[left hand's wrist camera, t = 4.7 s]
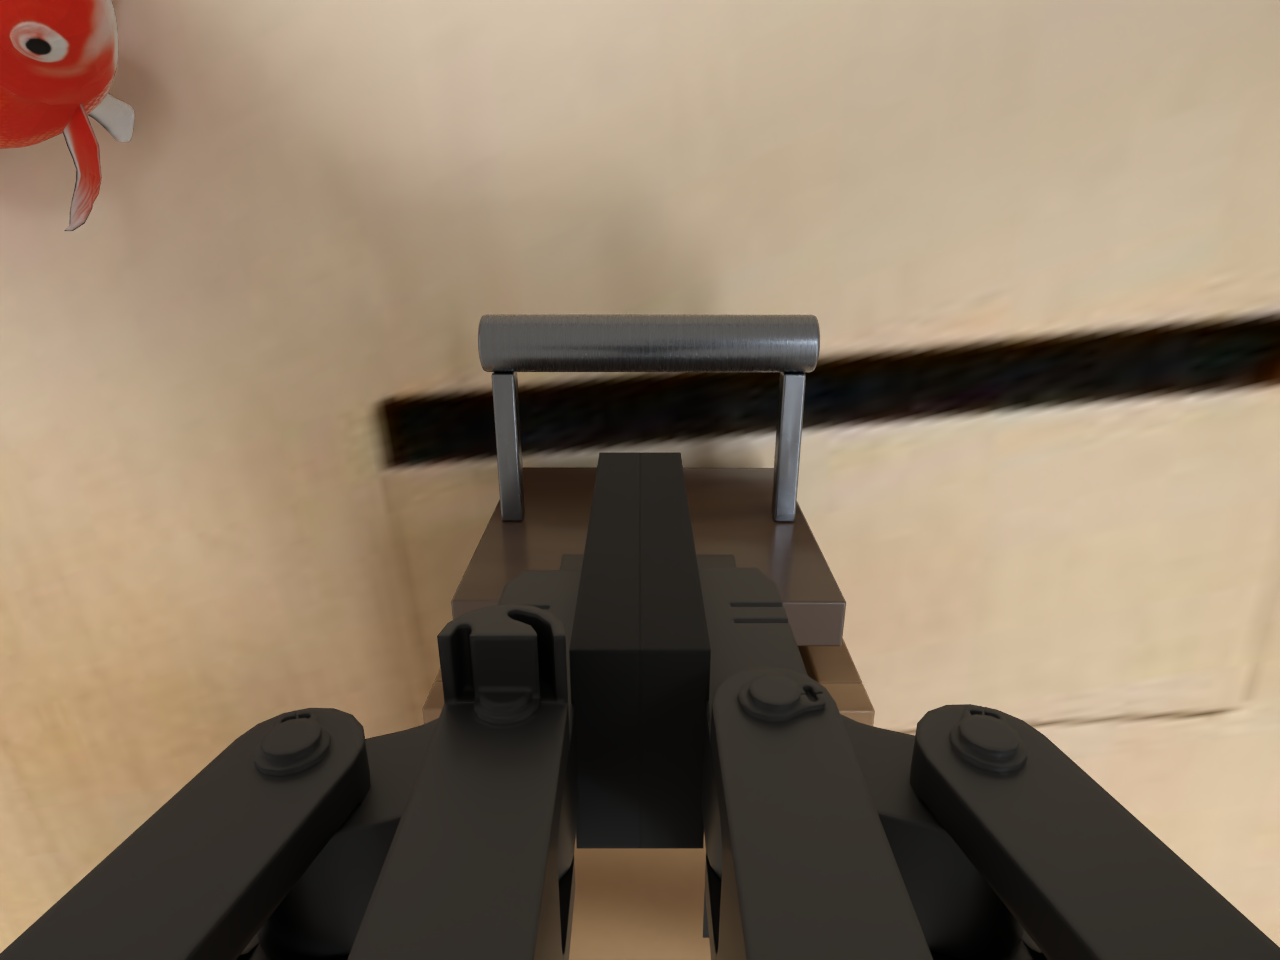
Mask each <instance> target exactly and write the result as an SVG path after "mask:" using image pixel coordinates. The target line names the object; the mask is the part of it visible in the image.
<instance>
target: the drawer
mask: <svg viewBox="0 0 1280 960" xmlns="http://www.w3.org/2000/svg"><path fill="white" fill-rule="evenodd" d="M819 348H820V331H819V324H818V320H817V318H816V316H814V315H484V316H482V317H481V320H480V324H479V330H478V349H479V357H480V362H481V365H482V368H483V370H484V371H487V372H493V374H492V389H493V403H494V418H495V432H496V446H497V461H498V475H499V490H500V500H499V502H498V504H497V506H496V509H495V511H494V513H493V515H492V517H491V519H490V521H489V523H488V525H487V528H486V530H485V532H484V534H483V536H482V538H481V540H480V542H479V544H478V547H477V549H476V551H475V553H474V555H473V557H472V559H471V561H470V563H469V565H468V568H467V570H466V572H465V574H464V576H463V578H462V580H461V582H460V584H459V587H458V589H457V591H456V593H455V595H454V597H453V599H452V612H453V620H454V619H456V618H458V617H459V616H461V615H463V614H465V613H467V612H470V611H473V610H477V609H480V608H483V607H487V606H495V605H498V603H499V600H500V597H501V594H502V591H503V588H504V586H505V585H506V584H508V583H509V582H510V581H511V580H512V579H513V578H515V577H516V576H517V575H518V574H519V573H521V572H522V571H523V570H582V564H583V558H584V551H585V545H586V538H587V532H588V525H589V519H590V512H591V506H592V499H593V493H594V486H595V480H596V473H597V468H522V451H521V433H520V416H519V399H518V381H517V372H780V385H779V400H778V416H777V431H776V446H775V462H774V468H683V473H684V480H685V486H686V493H687V499H688V506H689V512H690V519H691V525H692V532H693V538H694V545H695V551H696V558H697V564H698V568H758V569H759V570H760V571H761V572H763V573H764V574H765V575H766V576H767V577H768V578H770V579H771V580H772V581H773V582H774V583H776V585H777V588H778V591H779V594H780V597H781V600H782V603H783V607H784V608H785V611H786V614H787V617H788V623H790V626H791V628H792V631H793V634H794V637H795V640H796V643H797V646H841V644H842V636H843V627H844V618H845V608H846V602H845V599H844V597H843V595H842V593H841V591H840V589H839V587H838V585H837V583H836V581H835V579H834V577H833V575H832V573H831V571H830V569H829V566H828V564H827V562H826V560H825V558H824V556H823V554H822V552H821V550H820V548H819V546H818V544H817V542H816V540H815V538H814V536H813V533H812V531H811V529H810V527H809V525H808V523H807V521H806V519H805V517H804V515H803V513H802V511H801V509H800V507H799V505H798V503H797V500H796V499H797V486H798V473H799V460H800V447H801V434H802V421H803V408H804V395H805V382H806V375H805V373H804V372H812V371H814V369H815V367H816V365H817V361H818V356H819Z"/></svg>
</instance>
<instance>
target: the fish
mask: <svg viewBox="0 0 1280 960" xmlns="http://www.w3.org/2000/svg"><path fill="white" fill-rule="evenodd" d="M117 60H118V30H117V23H116V15H115V11H114V8H113V4H112V1H111V0H0V148H18V147H25V146H30V145H34V144H37V143H40V142H42V141H45V140H47V139H49V138H52V137H54V136H56V135H59V134H61V133H63V134H64V137H65V140H66V143H67V146H68V148H69V151H70V153H71V155H72V158H73V161H74V164H75V167H76V184H75V190H74V194H73V198H72V203H71V209H70V225H69V227H68V228H67V229H66V230H65V231H73V230H75V229H76V228H78V227H79V226H81V225H83V224H84V223H85V222H86V220H87V218H88V216H89V214H90V212H91V210H92V206H93V203H94V201H95V199H96V197H97V196H98V194H99V189H100V184H101V168H100V155H99V145H98V142H97V140H96V137H95V135H94V132H93V129H92V127H91V124H90V122H89V119H88V117H87V115H89V116H91V117H92V118H94V119H95V120H96V121H98V122H99V123H100V124H101V125H102V126H103V127H104V128H105V129H106V130H107V131H108V132H109V133H110V134H111V135H112V136H113V137H114V138H115V139H116V140H117V141H120V142H129V141H130V140H131V138H132V134H133V127H134V117H135V114H134V110H133V108H132V107H131V106H130V105H129V104H127V103H125V102H123V101H121V100H119V99H117V98H114V97H113V96H112V95H110V94H109V93H108V92H109V90H110V87H111V84H112V81H113V78H114V75H115V71H116V68H117Z"/></svg>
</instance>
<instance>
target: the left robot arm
mask: <svg viewBox="0 0 1280 960" xmlns="http://www.w3.org/2000/svg"><path fill="white" fill-rule="evenodd" d="M437 638H438V647H439V656H440V666H441V675H442V684H443V694H444V706H443V708H442V711H441V714H440V716H439V718H437V719H435V720H433V721H430V722H428V723H426V724H424V725H422V726H418V727H415V728H411V729H408V730H404V731H400V732H396V733H391V734H386V735H382V736H377V737H373V738H368V739H365V736H364V729H363V726H362V725H361V724H360V723H359V722H358V721H357V719H356V718H355V717H354V716H353V715H351V714H348V713H345V712H342V711H340V710H337V709H332V708H307V709H302V710H297V711H292V712H288V713H283V714H281V715H278V716H276V717H274V718H271V719H269V720H266V721H264V722H262V723H259V724H257V725H256V726H254V727H253V728H252V729H250V730H249V731H247V732H246V733H244V734H243V735H242V736H240V737H239V738H237V739H236V740H235V741H234V742H233V743H232V744H230V745H229V746H228V747H227V748H226V749H225V750H224V751H223V752H222V753H221V754H219V755H218V756H217V757H216V758H215V759H214V760H213V761H212V762H211V763H210V764H208V765H207V766H206V767H205V768H204V769H203V770H202V771H201V772H200V773H199V774H197V775H196V776H195V777H194V778H193V779H192V780H191V781H190V782H189V783H188V784H186V785H185V786H184V787H183V788H182V789H181V790H180V791H179V792H178V793H177V794H175V795H174V796H173V797H172V798H171V799H170V800H169V801H168V802H167V803H166V804H164V805H163V806H162V807H161V808H160V809H159V810H158V811H157V812H156V813H155V814H153V815H152V816H151V817H150V818H149V819H148V820H147V821H146V822H145V823H144V824H142V825H141V826H140V827H139V828H138V829H137V830H136V831H135V832H134V833H133V834H131V835H130V836H129V837H128V838H127V839H126V840H125V841H124V842H123V843H122V844H120V845H119V846H118V847H117V848H116V849H115V850H114V851H113V852H112V853H111V854H109V855H108V856H107V857H106V858H105V859H104V860H103V861H102V862H101V863H100V864H99V865H97V866H96V867H95V868H94V869H93V870H92V871H91V872H90V873H89V874H88V875H86V876H85V877H84V878H83V879H82V880H81V881H80V882H79V883H78V884H77V885H75V886H74V887H73V888H72V889H71V890H70V891H69V892H68V893H67V894H66V895H64V896H63V897H62V898H61V899H60V900H59V901H58V902H57V903H56V904H55V905H53V906H52V907H51V908H50V909H49V910H48V911H47V912H46V913H45V914H44V915H42V916H41V917H40V918H39V919H38V920H37V921H36V922H35V923H34V924H33V925H31V926H30V927H29V928H28V929H27V930H26V931H25V932H24V933H23V934H22V935H20V936H19V937H18V938H17V939H16V940H15V941H14V942H13V943H12V944H11V945H9V946H8V947H7V948H6V949H5V950H4V951H3V952H2V953H1V954H0V960H569V954H570V943H571V932H572V921H573V909H574V898H575V865H574V849H575V839H576V845H577V848H703V845H704V835H705V845H706V865H705V890H704V915H703V938H709V942H710V953H711V960H1280V948H1279V947H1278V946H1277V945H1276V944H1275V943H1274V942H1273V941H1272V940H1271V939H1269V938H1268V937H1267V936H1266V935H1265V934H1264V933H1263V932H1262V931H1261V930H1259V929H1258V928H1257V927H1256V926H1255V925H1254V924H1253V923H1252V922H1251V921H1249V920H1248V919H1247V918H1246V917H1245V916H1244V915H1243V914H1242V913H1241V912H1240V911H1238V910H1237V909H1236V908H1235V907H1234V906H1233V905H1232V904H1231V903H1230V902H1228V901H1227V900H1226V899H1225V898H1224V897H1223V896H1222V895H1221V894H1220V893H1218V892H1217V891H1216V890H1215V889H1214V888H1213V887H1212V886H1211V885H1210V884H1208V883H1207V882H1206V881H1205V880H1204V879H1203V878H1202V877H1201V876H1200V875H1198V874H1197V873H1196V872H1195V871H1194V870H1193V869H1192V868H1191V867H1190V866H1189V865H1187V864H1186V863H1185V862H1184V861H1183V860H1182V859H1181V858H1180V857H1179V856H1177V855H1176V854H1175V853H1174V852H1173V851H1172V850H1171V849H1170V848H1169V847H1167V846H1166V845H1165V844H1164V843H1163V842H1162V841H1161V840H1160V839H1159V838H1157V837H1156V836H1155V835H1154V834H1153V833H1152V832H1151V831H1150V830H1149V829H1147V828H1146V827H1145V826H1144V825H1143V824H1142V823H1141V822H1140V821H1139V820H1138V819H1136V818H1135V817H1134V816H1133V815H1132V814H1131V813H1130V812H1129V811H1128V810H1126V809H1125V808H1124V807H1123V806H1122V805H1121V804H1120V803H1119V802H1118V801H1116V800H1115V799H1114V798H1113V797H1112V796H1111V795H1110V794H1109V793H1108V792H1106V791H1105V790H1104V789H1103V788H1102V787H1101V786H1100V785H1099V784H1098V783H1096V782H1095V781H1094V780H1093V779H1092V778H1091V777H1090V776H1089V775H1088V774H1087V773H1085V772H1084V771H1083V770H1082V769H1081V768H1080V767H1079V766H1078V765H1077V764H1075V763H1074V762H1073V761H1072V760H1071V759H1070V758H1069V757H1068V756H1067V755H1065V754H1064V753H1063V752H1062V751H1061V750H1060V749H1059V748H1058V747H1057V746H1055V745H1054V744H1053V743H1052V742H1051V741H1050V740H1049V739H1048V738H1047V737H1045V736H1044V735H1043V734H1041V733H1040V732H1039V731H1037V730H1036V729H1034V728H1033V727H1031V726H1030V725H1028V724H1027V723H1026V722H1024V721H1023V720H1020V719H1018V718H1016V717H1013V716H1011V715H1008V714H1006V713H1003V712H1001V711H999V710H996V709H991V708H987V707H982V706H976V705H971V704H970V705H945V706H942V707H940V708H937V709H934V710H931V711H928V712H927V713H926V714H925V715H924V717H923V718H922V719H921V720H920V721H919V722H918V723H917V729H916V736H914V735H909V734H904V733H900V732H895V731H890V730H886V729H881V728H877V727H873V726H870V725H866V724H863V723H860V722H857V721H855V720H852V719H850V718H848V717H846V716H844V715H842V714H840V712H839V710H838V707H837V704H836V702H835V701H834V699H833V698H832V696H831V695H830V693H829V692H828V691H827V689H826V688H825V687H824V686H822V685H821V684H819V683H818V682H816V681H815V680H813V679H812V678H810V677H809V676H808V675H807V672H806V669H805V666H804V663H803V660H802V657H801V654H800V651H799V649H798V646H797V643H796V640H795V637H794V634H793V631H792V628H791V626H790V623H788V617H787V614H786V611H785V608H784V607H783V603H782V600H781V597H780V594H779V591H778V588H777V585H776V583H774V582H773V581H772V580H771V579H770V578H768V577H767V576H766V575H765V574H764V573H763V572H761V571H760V570H759V569H758V568H698V564H697V558H696V551H695V545H694V538H693V532H692V525H691V519H690V512H689V506H688V499H687V493H686V486H685V480H684V473H683V467H682V460H681V454H680V453H600V454H599V460H598V467H597V473H596V480H595V486H594V493H593V499H592V506H591V512H590V519H589V525H588V532H587V538H586V545H585V551H584V558H583V564H582V570H523V571H522V572H521V573H519V574H518V575H517V576H516V577H515V578H513V579H512V580H511V581H510V582H509V583H508V584H506V585H505V586H504V588H503V591H502V594H501V597H500V600H499V603H498V605H495V606H487V607H483V608H480V609H477V610H473V611H470V612H467V613H465V614H463V615H461V616H459V617H458V618H456V619H454V620H453V621H451V622H449V623H448V624H447V625H446V626H445V627H444V629H443V630H442V631H441V632H440V633H439V635H438V636H437Z"/></svg>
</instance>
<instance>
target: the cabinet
mask: <svg viewBox="0 0 1280 960" xmlns="http://www.w3.org/2000/svg"><path fill="white" fill-rule="evenodd" d="M798 649H799V651H800V654H801V657H802V660H803V663H804V666H805V669H806V672H807V675H808V676H809V677H810V678H812V679H813V680H815V681H816V682H818V683H819V684H821V685H822V686H824V687H825V688H826V689H827V691H828V692H829V693H830V695H831V696H832V698H833V699H834V701H835V702H836V704H837V707H838V710H839V712H840V714H842V715H844V716H846V717H848V718H850V719H852V720H855V721H857V722H860V723H863V724H866V725H870V726H873V721H874V713H875V711H874V708H873V706H872V704H871V702H870V699H869V697H868V695H867V692H866V690H865V688H864V686H863V684H862V681H861V679H860V676H859V674H858V672H857V670H856V667H855V665H854V663H853V661H852V658H851V656H850V654H849V651H848V649H847V647H846V645H845V642H844V640H843V638H842V644H841V646H798ZM443 706H444V694H443V684H442V675H441V668H440V670H439V672H438V675H437V677H436V679H435V682H434V684H433V686H432V689H431V691H430V693H429V696H428V698H427V700H426V702H425V705H424V707H423V717H424V724H426V723H428V722H430V721H433V720H435V719H437V718H439V716H440V714H441V711H442V708H443ZM574 865H575V898H574V909H573V921H572V932H571V943H570V954H569V960H711V953H710V942H709V938H703V915H704V890H705V865H706V845H705V835H704V845H703V848H577V845H576V839H575V849H574Z"/></svg>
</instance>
